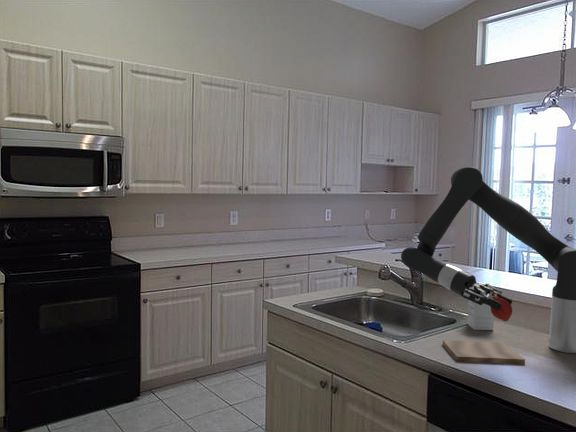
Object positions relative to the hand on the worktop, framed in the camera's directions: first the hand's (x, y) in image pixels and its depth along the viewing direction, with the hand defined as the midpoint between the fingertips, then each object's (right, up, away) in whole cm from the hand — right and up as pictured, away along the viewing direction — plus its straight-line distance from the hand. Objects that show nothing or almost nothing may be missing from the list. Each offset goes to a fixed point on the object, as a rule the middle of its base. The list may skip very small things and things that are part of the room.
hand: (505, 305), depth 141 cm
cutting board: (-3, -17, +9) cm, 20 cm away
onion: (0, -5, 0) cm, 5 cm away
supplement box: (+8, -16, +38) cm, 42 cm away
